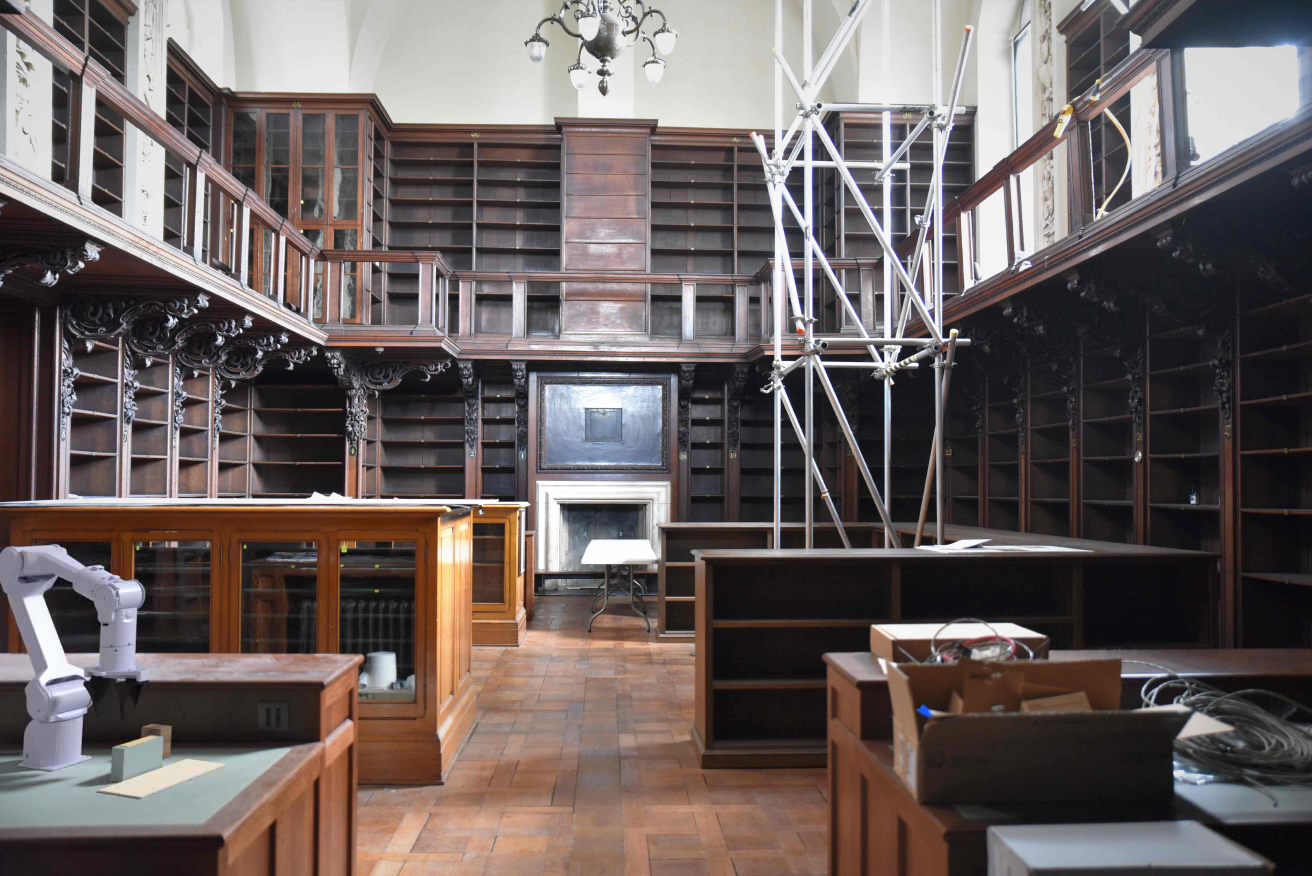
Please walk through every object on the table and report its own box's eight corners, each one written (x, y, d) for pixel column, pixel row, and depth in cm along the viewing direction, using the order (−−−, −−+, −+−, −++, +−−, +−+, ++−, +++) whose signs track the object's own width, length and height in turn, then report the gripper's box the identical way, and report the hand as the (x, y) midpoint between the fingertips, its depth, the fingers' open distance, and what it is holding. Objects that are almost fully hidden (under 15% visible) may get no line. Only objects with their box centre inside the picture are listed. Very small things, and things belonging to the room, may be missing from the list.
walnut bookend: (140, 757, 160) (141, 727, 161) (151, 754, 162) (152, 723, 163) (159, 760, 159) (160, 729, 159) (170, 756, 161) (171, 726, 161)
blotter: (98, 791, 142) (98, 790, 142) (186, 760, 159) (186, 758, 159) (140, 798, 139) (141, 796, 139) (226, 765, 156) (226, 764, 156)
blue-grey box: (110, 780, 147) (112, 746, 148) (149, 767, 155) (151, 734, 156) (122, 782, 147) (124, 748, 147) (161, 768, 154) (163, 735, 155)
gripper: (69, 646, 153) (66, 719, 152) (126, 650, 148) (123, 725, 147) (105, 640, 160) (102, 710, 159) (160, 643, 155) (158, 715, 154)
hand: (114, 717), depth 153 cm, fingers open, 6 cm apart
